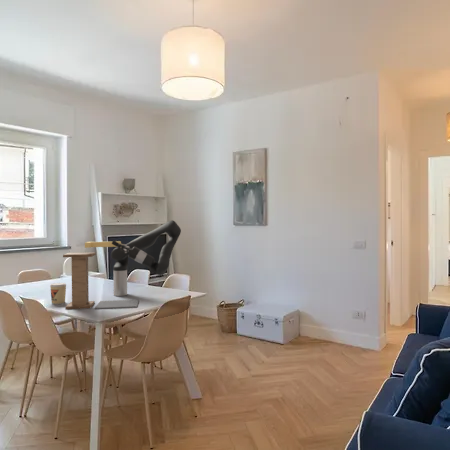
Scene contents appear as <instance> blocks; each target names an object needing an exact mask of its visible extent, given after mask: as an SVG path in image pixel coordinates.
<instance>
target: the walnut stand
mask: <svg viewBox="0 0 450 450" xmlns="http://www.w3.org/2000/svg"><path fill="white" fill-rule="evenodd" d="M96 253H97V252H95V251H94V252H93V251H92V252H89V251H88V252H67V253H64V254H63V255H62V258H71V301H70V302H69V303H68V304H66V306H65V310H79V309H80V310H82V309H83V310H84V309H85V310H86V309H91V308H92V307H93V306H94V305H95V300H89V258H92V257H93V256H96V255H97V254H96Z"/></svg>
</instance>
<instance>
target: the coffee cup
mask: <svg viewBox="0 0 450 450" xmlns="http://www.w3.org/2000/svg"><path fill="white" fill-rule="evenodd" d="M49 287H50V297H51V300H50V301H51V304H52V303H53V304H52V305H61V304H65V303H66V292H67V284H66V282H56V283H55V282H54V283H50V286H49Z"/></svg>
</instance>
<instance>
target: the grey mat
mask: <svg viewBox="0 0 450 450" xmlns="http://www.w3.org/2000/svg"><path fill="white" fill-rule="evenodd" d="M139 302H140V299H120V300H119V299H117V300H115V299H114V300H100V301H99V302H98V303H97V304H96V305H95V307H94V310H108V309H111V310H113V308H114V309H130V308H131V309H133V308H136V309H137V307H138V305H139Z"/></svg>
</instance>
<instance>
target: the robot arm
mask: <svg viewBox="0 0 450 450" xmlns="http://www.w3.org/2000/svg"><path fill="white" fill-rule="evenodd" d="M165 233H166V234H167V235H168V237H169V239H168V242H166V243H165V244H164V245H163V246H162V247H161V250H160V252H159V257H158V261H155V257H154V256H152V255H150V254H148V253H147V252H145V251H143V250H146V249H148V248H150V247H152V246H153V245H154V244H155V243H156V241H157V240H158V238H159V237H160V236H161V235H163V234H165ZM181 233H182V229H181V227H180V226H179V225H178V223H177V222H176V221H175V220H169V221H166V222H164V223H163V224H161V225H159V226H158V227H156V228H155V229H153V230H151V231H148V232H146V233H144V234H142V235H140V236H138V237H137V238H135V239H133V240H131V241H130V242H128V243H126V244H125V243H122V242H121V244H119V243H117V242H115V241H116V240H113V241H111V242H112V244H113V245H115V246H117V247H115V248H114V249H113V250H111V253H110V257H111V259H112V260H114V261H115V263H114V265H113V269H112V271H113V296H115V297H121V296H123V297H124V296H127V295H128V266H129V259H132V260H134V261H135V262H137V263H139V264H141V265H143V266H145V267H146V268H148V269H149V270H150V271H152V272H153V273H154V274H156V275H158V276H163V275H164V274H166V272H167V270H168V269H169V266H170V261H171V256H172V253H173V251H174V248H175V245H176V243H177V241H178V239H179V238H180V236H181Z"/></svg>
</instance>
